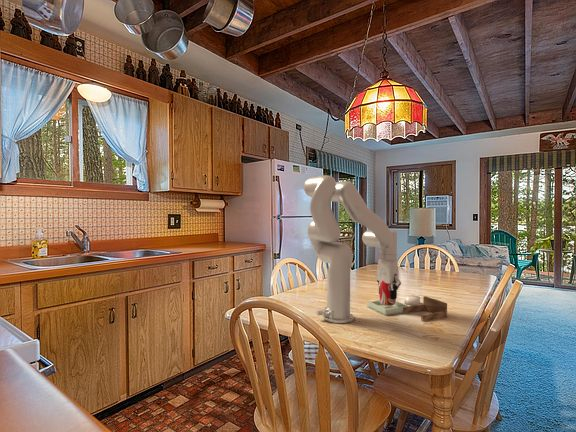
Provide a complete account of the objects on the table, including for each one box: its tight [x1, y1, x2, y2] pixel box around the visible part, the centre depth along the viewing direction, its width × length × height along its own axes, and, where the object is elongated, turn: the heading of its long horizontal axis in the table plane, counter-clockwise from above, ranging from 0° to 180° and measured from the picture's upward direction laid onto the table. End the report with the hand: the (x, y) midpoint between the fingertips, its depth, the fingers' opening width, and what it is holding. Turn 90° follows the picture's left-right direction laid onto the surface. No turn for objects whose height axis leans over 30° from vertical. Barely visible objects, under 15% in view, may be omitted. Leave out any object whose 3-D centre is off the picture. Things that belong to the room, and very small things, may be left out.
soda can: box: [379, 280, 397, 306], centre depth 149 cm, size 7×7×12 cm
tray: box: [366, 299, 410, 317], centre depth 149 cm, size 13×13×3 cm
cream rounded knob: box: [404, 294, 421, 306], centre depth 159 cm, size 7×7×4 cm
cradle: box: [402, 295, 448, 322], centre depth 142 cm, size 13×12×6 cm
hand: (387, 296), depth 149 cm, fingers closed on soda can, 7 cm apart
